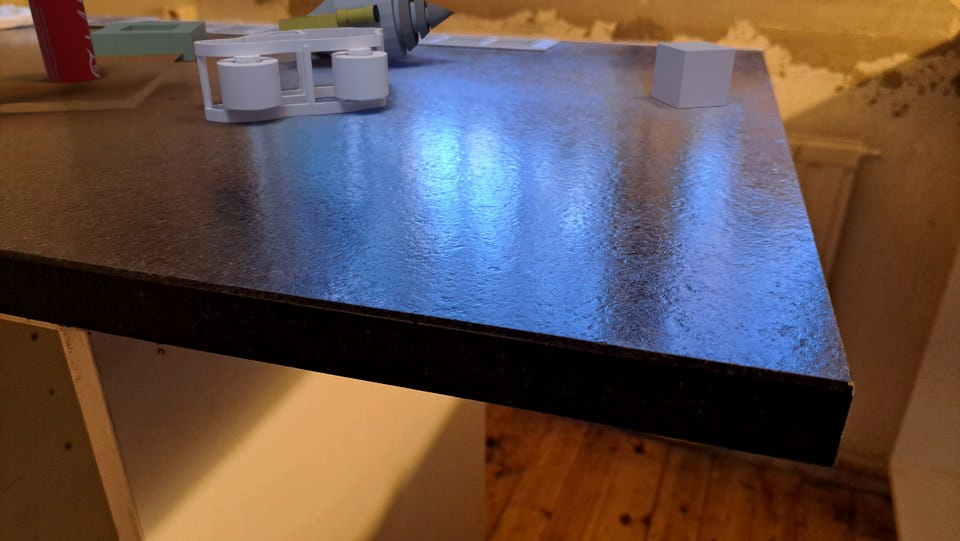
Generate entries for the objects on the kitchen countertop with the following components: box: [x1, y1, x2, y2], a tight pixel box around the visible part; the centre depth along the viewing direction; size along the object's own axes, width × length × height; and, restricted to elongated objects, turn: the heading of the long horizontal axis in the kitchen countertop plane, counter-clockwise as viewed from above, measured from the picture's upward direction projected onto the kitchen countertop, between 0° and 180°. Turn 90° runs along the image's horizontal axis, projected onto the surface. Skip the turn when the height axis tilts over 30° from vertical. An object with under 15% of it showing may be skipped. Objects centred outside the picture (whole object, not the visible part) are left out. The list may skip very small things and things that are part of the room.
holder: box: [90, 20, 209, 63], centre depth 105 cm, size 13×13×4 cm
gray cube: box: [651, 40, 737, 110], centre depth 78 cm, size 6×6×6 cm
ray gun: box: [277, 0, 456, 65], centre depth 99 cm, size 11×24×20 cm
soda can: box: [27, 0, 101, 84], centre depth 81 cm, size 6×6×12 cm
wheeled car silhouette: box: [193, 28, 390, 123], centre depth 73 cm, size 20×11×7 cm, turn 115°
